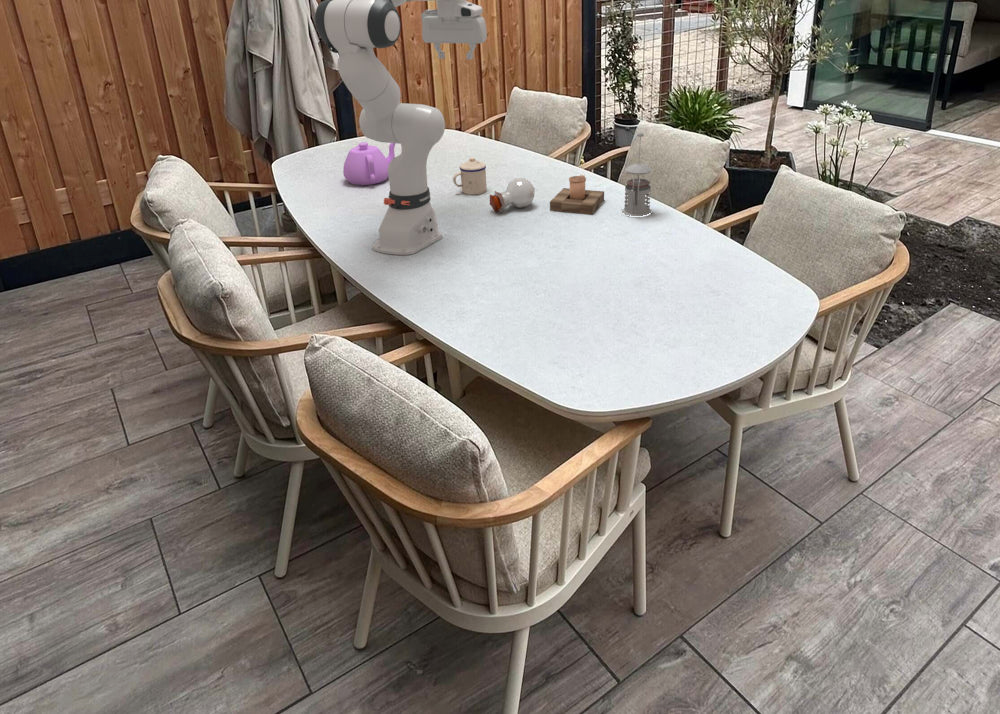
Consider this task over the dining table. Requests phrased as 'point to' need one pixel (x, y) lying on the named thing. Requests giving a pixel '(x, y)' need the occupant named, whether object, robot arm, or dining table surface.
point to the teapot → (367, 164)
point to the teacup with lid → (472, 177)
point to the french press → (637, 189)
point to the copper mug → (577, 187)
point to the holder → (577, 202)
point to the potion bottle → (513, 195)
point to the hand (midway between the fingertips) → (455, 58)
